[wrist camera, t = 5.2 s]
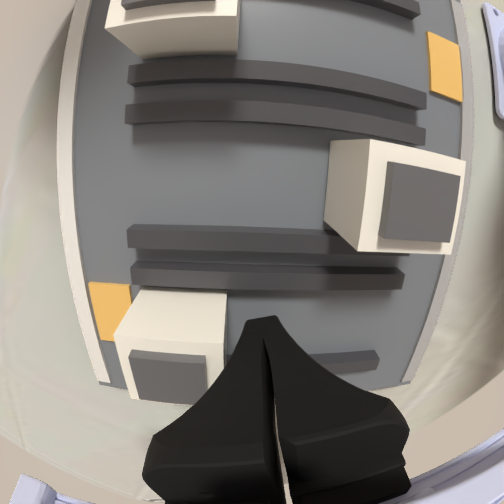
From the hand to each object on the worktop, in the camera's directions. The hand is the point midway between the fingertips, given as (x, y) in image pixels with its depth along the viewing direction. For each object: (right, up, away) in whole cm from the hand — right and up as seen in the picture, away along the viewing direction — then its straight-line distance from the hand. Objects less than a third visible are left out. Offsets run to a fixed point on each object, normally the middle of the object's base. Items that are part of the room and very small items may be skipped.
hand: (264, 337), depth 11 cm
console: (0, +6, 0) cm, 6 cm away
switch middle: (+4, +6, -1) cm, 7 cm away
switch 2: (-3, +1, +1) cm, 3 cm away
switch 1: (-3, +12, -3) cm, 12 cm away
